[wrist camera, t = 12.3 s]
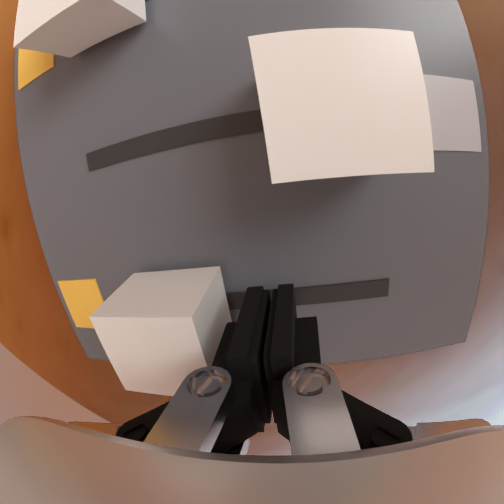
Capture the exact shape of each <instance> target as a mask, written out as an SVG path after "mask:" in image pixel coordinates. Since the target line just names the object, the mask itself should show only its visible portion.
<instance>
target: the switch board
mask: <svg viewBox="0 0 504 504" xmlns="http://www.w3.org/2000/svg"><path fill="white" fill-rule="evenodd" d="M145 9H146V22H144V23H141V24H139V25H136V26H134V27H132V28H129V29H127V30H125V31H122V32H120V33H118V34H116V35H113V36H111V37H109V38H107V39H105V40H103V41H101V42H99V43H97V44H95V45H93V46H91V47H89V48H87V49H85V50H84V51H82V52H80V53H78V54H76V55H75V56H73V57H71V58H69V57H65V56H60V55H55V54H50V53H44V52H38V51H32V50H26V49H19V48H15V65H14V88H15V110H16V123H17V133H18V142H19V149H20V156H21V163H22V169H23V174H24V180H25V185H26V189H27V194H28V199H29V203H30V207H31V211H32V215H33V219H34V223H35V226H36V230H37V233H38V237H39V240H40V244H41V247H42V250H43V253H44V256H45V259H46V262H47V265H48V268H49V271H50V273H51V276H52V279H53V282H54V284H55V287H56V289H57V292H58V294H59V297H60V299H61V302H62V304H63V307H64V309H65V311H66V313H67V316H68V318H69V320H70V322H71V325H72V327H73V329H74V331H75V333H76V335H77V337H78V339H79V341H80V343H81V345H82V347H83V349H84V351H85V353H86V355H87V357H88V358H90V359H97V360H105V361H110V360H109V358H108V356H107V354H106V352H105V350H104V348H103V346H102V344H101V342H100V340H99V337H98V335H97V333H96V331H95V329H94V327H93V324H92V322H91V320H90V317H89V316H90V315H91V314H92V313H93V312H94V311H95V310H96V309H97V308H98V307H99V306H100V305H101V304H102V303H103V302H104V301H105V300H106V299H107V298H108V297H109V296H110V295H112V294H113V293H114V292H115V291H116V290H117V289H118V288H119V287H120V286H121V285H122V284H123V283H124V282H125V281H126V280H127V279H128V278H129V277H130V276H131V275H132V274H133V273H141V272H154V271H167V270H179V269H191V268H203V267H215V266H220V269H221V274H222V278H223V283H224V288H225V292H226V297H227V302H228V306H229V311H230V315H231V320H232V322H237V320H238V317H239V313H240V310H241V307H242V303H243V300H244V297H245V294H246V290H247V288H248V287H256V286H263V288H264V290H266V289H269V292H270V299H271V298H272V291H273V289H278V285H280V284H291V283H293V284H294V292H295V302H296V312H297V318H302V317H314V316H317V324H318V334H319V345H320V357H321V364H323V365H324V364H335V363H345V362H354V361H362V360H369V359H377V358H384V357H390V356H396V355H402V354H408V353H414V352H419V351H424V350H429V349H434V348H439V347H443V346H448V345H452V344H457V343H461V342H465V341H466V337H467V334H468V330H469V327H470V323H471V319H472V315H473V311H474V307H475V302H476V298H477V293H478V288H479V283H480V277H481V271H482V265H483V259H484V251H485V243H486V234H487V222H488V207H489V151H488V136H487V125H486V116H485V108H484V101H483V94H482V88H481V83H480V78H479V73H478V68H477V63H476V59H475V55H474V51H473V47H472V43H471V40H470V36H469V33H468V30H467V26H466V23H465V20H464V17H463V14H462V11H461V9H460V6H459V3H458V1H457V0H145ZM320 28H378V29H393V30H404V31H413V33H414V37H415V41H416V45H417V49H418V53H419V57H420V62H421V66H422V71H423V76H424V81H425V87H426V93H427V99H428V106H429V113H430V121H431V130H432V141H433V153H434V172H423V173H397V174H378V175H362V176H348V177H335V178H324V179H313V180H303V181H293V182H284V183H276V184H272V181H271V174H270V167H269V161H268V154H267V147H266V141H265V134H264V128H263V121H262V115H261V109H260V103H259V97H258V91H257V85H256V79H255V73H254V67H253V62H252V56H251V51H250V45H249V40H248V36H254V35H260V34H267V33H275V32H283V31H293V30H304V29H320Z"/></svg>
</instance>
